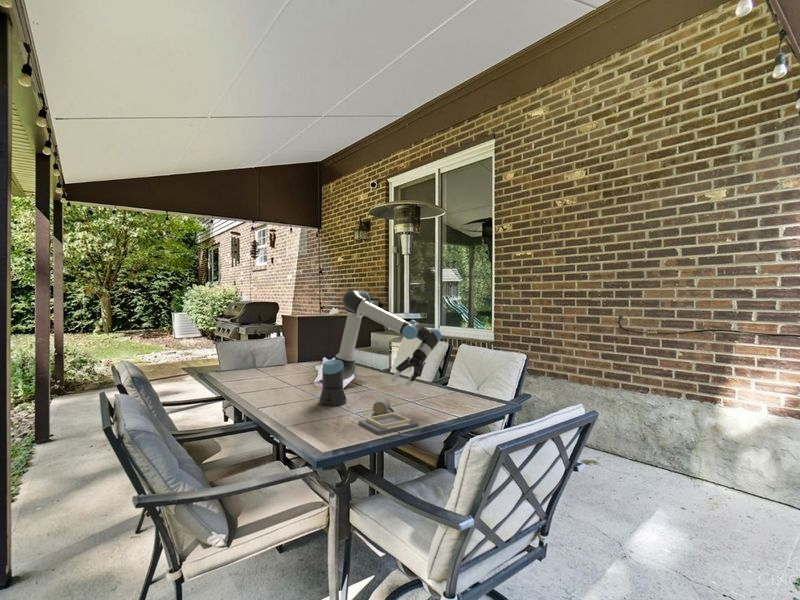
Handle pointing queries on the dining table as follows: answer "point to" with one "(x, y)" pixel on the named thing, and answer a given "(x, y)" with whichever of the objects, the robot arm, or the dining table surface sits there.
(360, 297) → the robot arm
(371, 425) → the charcoal pocket board
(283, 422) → the dining table surface
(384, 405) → the ceramic mug
